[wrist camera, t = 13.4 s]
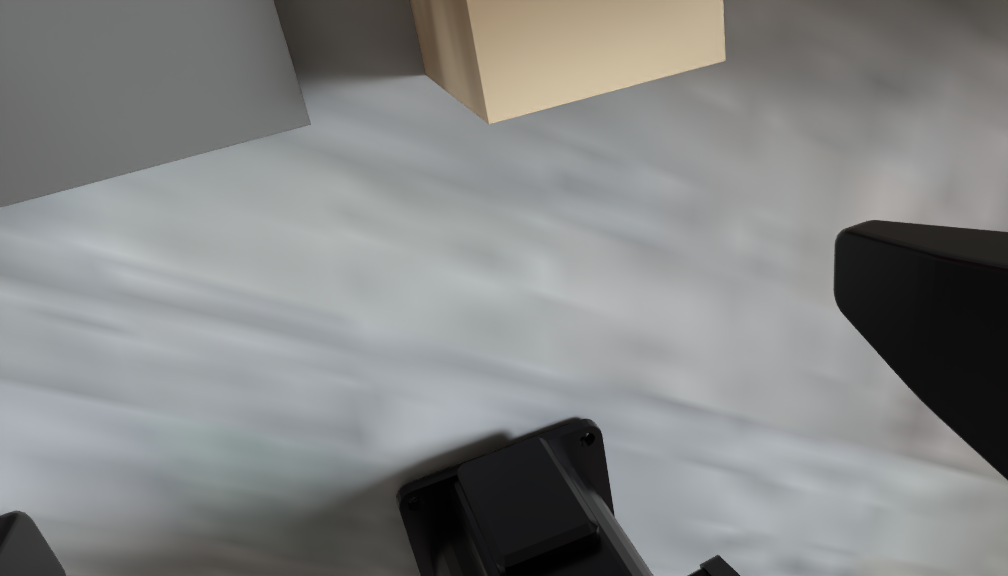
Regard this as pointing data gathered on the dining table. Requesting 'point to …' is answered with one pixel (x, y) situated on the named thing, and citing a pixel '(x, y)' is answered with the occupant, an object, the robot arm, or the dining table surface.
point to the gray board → (135, 86)
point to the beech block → (560, 48)
